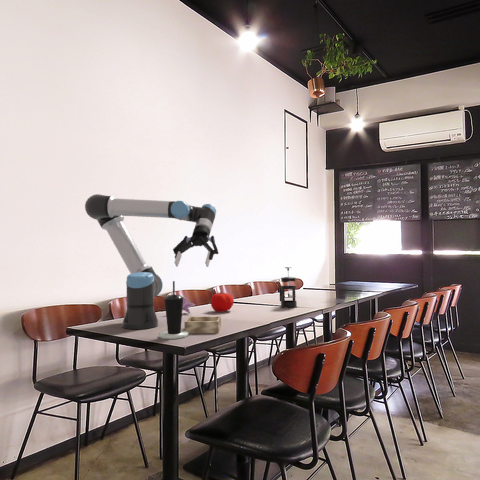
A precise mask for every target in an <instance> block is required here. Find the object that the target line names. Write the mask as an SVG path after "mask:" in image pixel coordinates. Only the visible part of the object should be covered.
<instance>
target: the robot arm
mask: <svg viewBox="0 0 480 480" xmlns="http://www.w3.org/2000/svg"><path fill="white" fill-rule="evenodd" d="M84 209H85V212H86V215H88V216H89V217H90V218H91V219H93V220H96V221H97V223H98V225H99V227H100V228H101V229H102V230H105V231H106V232H107V233H108V235H109V238H110V239H111V241H112V242H113V244H114V246H115V248H116V250H117V252H118V254H119V255H120V257H121V259H122V260H123V262H124V264H125V266H126V268H127V270H128V272H129V274H128V275H127V277H126V281H125V282H126V283H125V284H126V311H125V315H124V316H123V320H122V328H123V329H126V330H127V329H128V330H143V329H144V330H145V329H153V328H156V327H158V326H159V320H158V316H157V314H156V311H155V302H154V301H155V300H154V299H155V298H156V297H158V296H159V295H160V294H161V291H162V290H163V287H164V285H163V280H162V278H161V277H160V276H159V275H158V274H157V273H156V272H155V270H154V268H153V266H150V265H148V264H147V262H146V260H145V259H144V257H143V255H142V254H141V251H140V250H139V248H138V247H137V244H136V242H135V240H134V239H133V238H132V236H131V234H130V232H129V230H128V227H126V224H125V223H124V220H125V217H141V218H160V219H161V218H165V219H175V220H179V221H185V222H191V223H196V224H195V225H194V229H193V231H192V235H191V236H190V237H188V236H187V235H185V236H184V237H183V239H182V240H181V241H180V242H178V243H177V245H176V246H174V248H173V249H172V251H173V254H174V264H175V267H178V266H179V264H180V261H181V259H182V254H183V253H185V252H186V251H188V250H189V249H191V248H194V247H204V248H205V249H206V251H207V253H206V254H207V255H206V258H205V262H204V264H205V267H206V268H209V265H210V262H211V261H212V260H213V258H214V256H215V255H218V254H219V249H218V247H217V244H216V239H215V236H214V235H211V232H212V228H213V225H214V222H215V219H216V214H217V209H216V207H215V206H214V205H213V204H210V203H206V204H205V203H204V204H203V205H202V206H194V205H190V204H188V203H187V202H186V201H184V200H176V201H174V200H173V201H171V200H154V199H153V200H152V199H134V198H133V199H132V198H131V199H130V198H116V197H115V196H113V195H104V194H98V193H97V194H92V195H91V196H89V197H88V198H87V199H86V201H85V204H84ZM210 235H211V236H210ZM209 242H210V243H211V245H212V247H213V248H212V247H211V246H210V244H209Z"/></svg>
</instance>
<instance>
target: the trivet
mask: <svg viewBox="0 0 480 480" xmlns="http://www.w3.org/2000/svg"><path fill="white" fill-rule="evenodd" d="M158 335H159V338H160V339H163V340H179V339H186V338H188V337H189V333H188V332H187V331H185V330H181V333H179V334H168V330H166V331H161V332H160V333H159V334H158Z"/></svg>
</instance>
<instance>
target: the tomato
mask: <svg viewBox="0 0 480 480" xmlns="http://www.w3.org/2000/svg"><path fill="white" fill-rule="evenodd" d="M234 301H235V300H234V297H233V296H232V294H230V293H227V292H223V291H220V292H217V293H214V294H213V295H212V297H211V300H210V306H211V308H212V309H213V311H215V312H217V313H222V312H227V311H229V310H231V309H232V307H233V306H234Z"/></svg>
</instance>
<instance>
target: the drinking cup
mask: <svg viewBox="0 0 480 480" xmlns="http://www.w3.org/2000/svg"><path fill="white" fill-rule="evenodd" d="M175 287H176V285H175V280H173V281H172V293H171V294H169V295H167V296H165V297H163V299H164V306H165V317H166V325H167V326H166V328H167V331H168V334H179V333H181V331H182V320H183V311H182V308H183V299H184V298H185V297H184V296H182V295H180V294H176V291H175V289H176V288H175Z"/></svg>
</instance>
